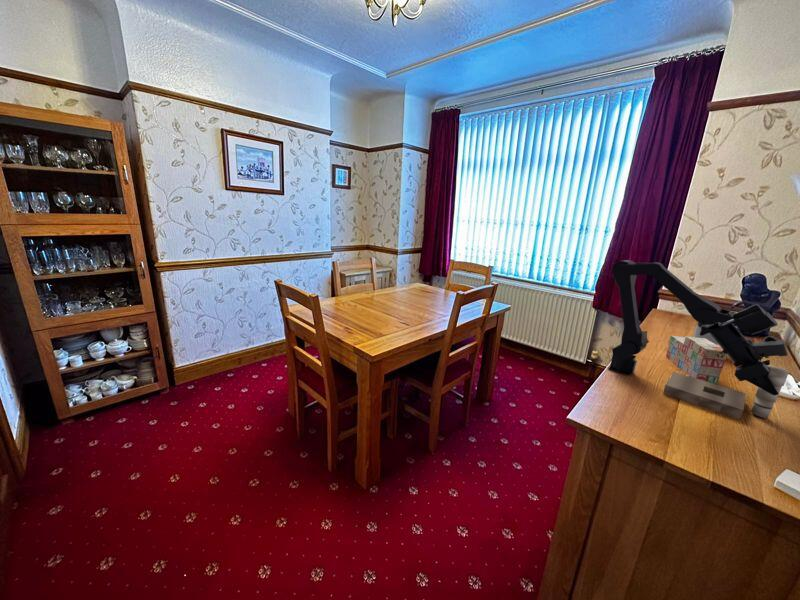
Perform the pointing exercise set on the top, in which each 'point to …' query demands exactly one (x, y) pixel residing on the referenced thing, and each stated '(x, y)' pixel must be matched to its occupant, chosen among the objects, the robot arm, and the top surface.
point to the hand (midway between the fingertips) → (776, 392)
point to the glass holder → (706, 336)
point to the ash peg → (766, 399)
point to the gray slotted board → (706, 394)
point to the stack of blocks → (697, 357)
